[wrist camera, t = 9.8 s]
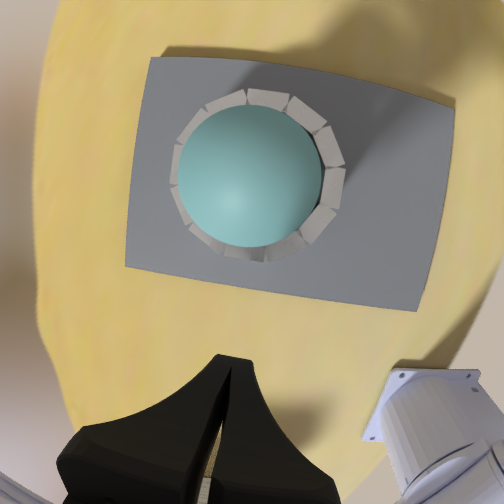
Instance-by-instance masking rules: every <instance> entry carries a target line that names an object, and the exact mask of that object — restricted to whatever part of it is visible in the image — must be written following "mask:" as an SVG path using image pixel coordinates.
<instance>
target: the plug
mask: <svg viewBox="0 0 504 504" xmlns="http://www.w3.org/2000/svg"><path fill="white" fill-rule="evenodd" d="M177 178H178V188H179V193H180V196H181V199H182V202H183V205H184V207H185V209H186V211H187V212H188V214H189V215H190V217H191V218H192V220H193V221H194V222H195V223H196V224H197V225H198V226H199V227H200V228H201V229H202V230H203V231H204V232H206V233H207V234H209V235H210V236H211V237H213V238H215V239H217V240H219V241H221V242H224V243H227V244H230V245H234V246H240V247H259V246H265V245H269V244H272V243H275V242H277V241H280V240H282V239H284V238H285V237H287V236H289V235H290V234H292V233H293V232H294V231H296V230H297V229H298V228H299V227H300V226H301V225H302V224H303V223H304V222H305V221H306V219H307V218H308V217H309V215H310V214H311V212H312V210H313V208H314V206H315V204H316V202H317V199H318V196H319V192H320V188H321V165H320V159H319V156H318V153H317V150H316V148H315V146H314V143H313V141H312V140H311V138H310V137H309V135H308V134H307V132H306V131H305V130H304V129H303V128H302V127H301V126H300V125H299V124H298V123H297V122H296V121H295V120H294V119H292V118H291V117H289V116H288V115H286V114H284V113H282V112H280V111H278V110H275V109H273V108H270V107H265V106H260V105H239V106H234V107H229V108H226V109H224V110H221V111H219V112H217V113H215V114H213V115H211V116H210V117H208V118H207V119H205V120H204V121H203V122H202V123H201V124H200V125H199V126H198V127H197V128H196V129H195V130H194V131H193V132H192V134H191V135H190V137H189V138H188V140H187V141H186V143H185V145H184V147H183V150H182V153H181V155H180V159H179V164H178V174H177Z"/></svg>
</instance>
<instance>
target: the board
mask: <svg viewBox="0 0 504 504" xmlns="http://www.w3.org/2000/svg"><path fill="white" fill-rule="evenodd" d="M248 88H250V89H259V90H267V91H274V92H281V93H288V94H289V100H288V102H289V101H290V100H291V99H292V98H293V97H294V96H295V97H297V98H298V99H299V100H301V101H302V102H303V103H304V104H306V105H307V106H308V107H310V108H311V109H312V110H314V111H315V112H316V113H317V114H319V115H320V116H321V117H322V118H324V119H325V120H326V121H327V122H326V123H325V124H324V126H323V127H322V128H324V127H327V126H331V129H332V131H333V134H334V136H335V139H336V141H337V144H338V146H339V149H340V151H341V154H342V157H343V159H344V162H345V164H344V165H341V166H338V168H343V169H346V171H345V177H344V183H343V189H342V195H341V201H340V207H339V209H334V208H331V209H332V210H333V211H334V212H335V213H336V214H337V215H336V216H335V217H334V218H333V219H332V221H331V222H330V223H329V224H328V225H327V227H326V228H325V229H324V230H323V231H322V233H321V234H320V235H319V236H318V237H317V238H316V240H315V241H314V242H313V243H312V244H311V245H310V244H309V243H308V242H306V241H305V240H304V239H303V240H304V242H305V245H306V249H303V250H300V251H297V252H295V253H292V254H289V255H287V256H284V257H281V258H278V259H276V260H273V261H270V262H268V259H267V257H266V254H265V257H264V262H257V261H251V260H245V259H239V258H232V257H226V256H224V252H225V248H224V249H223V250H222V251H221V253H220V254H219V253H217V252H216V251H215V250H213V249H212V248H211V247H210V246H208V245H207V244H206V243H205V242H203V241H202V240H201V239H199V238H198V237H197V236H196V235H194V234H193V233H192V232H191V231H189V230H188V229H189V228H190V226H191V225H192V223H193V222H192V223H190V224H187V225H185V224H184V222H183V219H182V217H181V215H180V212H179V210H178V207H177V205H176V202H175V200H174V197H173V195H172V193H171V190H170V189H171V188H173V187H175V186H177V185H175V184H169V183H170V174H171V167H172V159H173V152H174V145H175V144H176V145H183V144H181V143H180V142H179V141H177V138H178V137H179V136H180V134H181V133H182V132H183V130H184V129H185V128H186V126H187V125H188V124H189V122H190V121H191V120H192V119H193V117H194V116H195V115H196V113H197V112H198V111H199V110H200V108H202V109H204V110H205V111H206V112H208V110H207V108H206V106H205V104H208V103H210V102H212V101H215V100H217V99H219V98H222V97H224V96H227V95H229V94H232V93H234V92H237V91H239V90H242V89H243V90H244V92H245V94H246V97H247V93H248ZM454 113H455V109H452V108H449V107H447V106H444V105H441V104H439V103H436V102H433V101H430V100H428V99H425V98H422V97H419V96H416V95H413V94H409V93H406V92H403V91H400V90H397V89H393V88H390V87H386V86H383V85H379V84H375V83H372V82H368V81H364V80H360V79H356V78H351V77H347V76H343V75H338V74H333V73H328V72H323V71H318V70H313V69H307V68H301V67H295V66H288V65H282V64H274V63H266V62H258V61H248V60H237V59H223V58H205V57H151V60H150V64H149V69H148V74H147V78H146V83H145V89H144V94H143V99H142V105H141V111H140V117H139V123H138V129H137V136H136V143H135V150H134V158H133V166H132V175H131V184H130V194H129V206H128V219H127V234H126V254H125V267H130V268H135V269H141V270H146V271H151V272H156V273H162V274H167V275H173V276H178V277H184V278H189V279H195V280H200V281H206V282H212V283H218V284H224V285H230V286H236V287H242V288H248V289H254V290H260V291H267V292H273V293H279V294H286V295H292V296H299V297H306V298H313V299H320V300H327V301H334V302H341V303H348V304H356V305H363V306H371V307H379V308H387V309H395V310H403V311H412V312H417V310H418V307H419V303H420V300H421V297H422V293H423V290H424V286H425V283H426V279H427V276H428V272H429V268H430V264H431V260H432V256H433V252H434V248H435V244H436V239H437V235H438V230H439V225H440V220H441V215H442V210H443V205H444V199H445V193H446V187H447V180H448V173H449V166H450V158H451V149H452V139H453V127H454Z"/></svg>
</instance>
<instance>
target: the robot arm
mask: <svg viewBox="0 0 504 504" xmlns="http://www.w3.org/2000/svg"><path fill="white" fill-rule="evenodd" d="M401 373H403V375H401V376H399V375H400V374H401ZM480 374H481V373H480V371H479V370H478V369H414V368H394V369H393V370H391V372H390V374H389V376H388V379H387V381H386V384H385V386H384V388H383V391H382V393H381V395H380V398H379V400H378V402H377V405H376V407H375V409H374V411H373V413H372V415H371V418H370V420H369V422H368V424H367V426H366V428H365V430H364V432H363V434H362V437H361V438H362V441H364V442H384V443H385V446H386V449H387V452H388V455H389V458H390V461H391V464H392V467H393V471H394V474H395V476H396V480H397V483H398V486H399V490H400V493H401V496H402V498H401V499H399V500H398V501H397V502H395V504H504V414H503V413H502V412H501V410H500V409H499V408H498V407H497V405H496V404H495V403H494V401H493V400H492V399H491V398H490V396H489V395H488V394H487V393H486V392H485V390H484V389H483V388H482V386H481V385H480V384H479V383H478V382H477V381H478V379H479V377H480ZM222 421H223V422H222ZM221 424H222V432H221V441H220V445H219V449H218V453H217V457H216V461H215V464H214V468H213V472H212V475H211V482H210V488H209V495H208V501H207V504H341V501H340V497H339V494H338V491H337V488H336V485H335V482H334V480H333V479H332V478H331V477H330V476H328V475H327V474H326V473H324V472H323V471H322V470H320V469H319V468H318V467H316V466H315V465H314V464H312V463H311V462H310V461H309V460H308V459H307V458H306V457H305V456H304V455H302V454H301V452H300V451H299V450H298V449H297V448H296V447H295V446H294V445H293V444H292V442H291V441H290V440H289V439H288V438H287V436H286V435H285V434H284V432H283V431H282V430H281V428H280V427H279V425H278V424H277V422H276V421H275V419H274V417H273V416H272V414H271V412H270V410H269V408H268V406H267V404H266V402H265V400H264V398H263V396H262V393H261V391H260V388H259V385H258V382H257V379H256V376H255V372H254V366H253V362H252V361H251V360H247V359H242V358H236V357H231V356H226V355H221V354H217V355H215V356H214V357H213V359H212V360H211V361H210V362H209V363H208V364H207V365H206V367H205V368H204V369H203V370H202V371H201V372H199V373H198V374H197V375H196V376H195V377H194V378H193V379H192V380H191V381H189V382H188V383H187V384H186V385H184V386H183V387H182V388H180V389H179V390H178V391H176V392H175V393H173V394H172V395H170V396H169V397H167V398H166V399H164V400H162V401H161V402H159V403H157V404H155V405H153V406H151V407H149V408H147V409H145V410H143V411H140V412H138V413H136V414H133V415H130V416H127V417H124V418H121V419H117V420H114V421H110V422H105V423H100V424H95V425H89V426H83V427H82V428H81V429H80V430H79V431H78V432H77V433H76V434H75V435H74V436H73V437H72V439H71V440H70V441H69V442H68V444H67V445H66V446H65V448H64V449H63V451H62V452H61V454H60V455H59V456H58V458H57V461H56V465H57V469H58V472H59V474H60V476H61V479H62V481H63V483H64V485H65V488H66V490H67V492H68V495H67V497H66V498H65V500H64V502H63V504H197V502H198V498H199V494H200V489H201V485H202V481H203V477H204V473H205V469H206V466H207V463H208V460H209V458H210V455H211V452H212V449H213V446H214V444H215V441H216V438H217V435H218V432H219V430H220V427H221ZM373 436H374V437H373ZM0 504H53V503H51V502H49V501H48V500H46V499H44V498H42V497H40V496H38V495H37V494H35V493H33V492H32V491H30V490H28V489H27V488H25V487H23V486H22V485H20V484H18V483H17V482H15V481H14V480H12V479H11V478H9V477H8V476H6V475H5V474H3V473H2V472H0Z"/></svg>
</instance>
